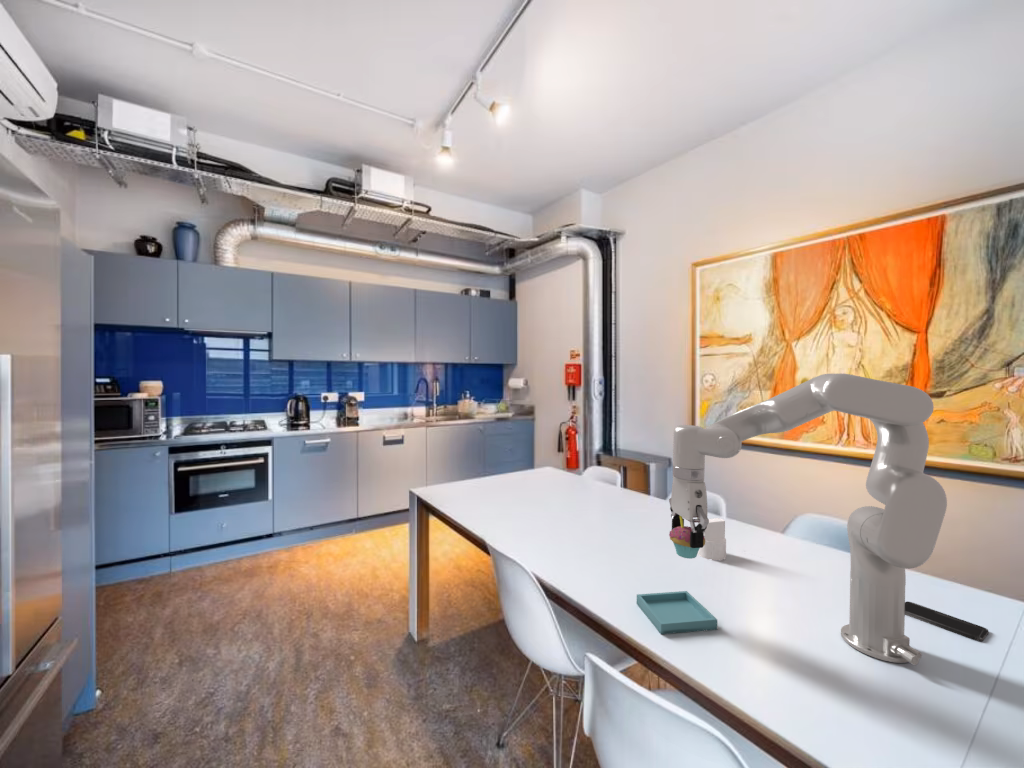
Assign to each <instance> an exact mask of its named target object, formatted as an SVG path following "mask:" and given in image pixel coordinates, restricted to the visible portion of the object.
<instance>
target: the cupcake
mask: <svg viewBox="0 0 1024 768" xmlns="http://www.w3.org/2000/svg"><path fill="white" fill-rule="evenodd" d="M683 519H684V518H683V517H681V516H680V522H681V526H679V527H675V528H673V529H672V528H671V530H669V534H668V536H669V540H670V541H671V542H673V547H674V549H675V552H676V554H677V555H678V556H679V557H681V558H684V559H696V558H697V556H698V551H699V549H700V548H691V547H690V531H692V528H691V526H688V525H686V526H685V523H684V524H683ZM704 537H705V536H704ZM704 537H703V546H704V545H705V538H704Z"/></svg>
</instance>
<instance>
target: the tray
mask: <svg viewBox="0 0 1024 768" xmlns="http://www.w3.org/2000/svg"><path fill="white" fill-rule="evenodd" d="M636 605H637V606H638V607H639V609H640V610H641V611H642V613H643V614H644V615H645V617H646V618H647V619H648V620H649V621H650V622H651V624H652V626H653V627H655V629H656V630H657V632H658V633H659V634H660V635H669V634H670V635H671V634H680V633H681V634H682V633H693V632H702V631H703V632H706V630H707V631H716V630H718V619H717V618H716V617H715V616H714V615H713V614H712V613H711V612H710V611H709V610H707V609H706V607H705V606H703V604H701V603H700V602H699V601H698V600H697V599H696V598H695V596H693V595H692V594H691V593H690V592H689V591H688V590H684V591H683V590H682V591H680V590H679V591H667V592H655V593H640V594H639V593H638V594H636ZM704 630H705V631H704Z"/></svg>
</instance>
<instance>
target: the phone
mask: <svg viewBox="0 0 1024 768" xmlns="http://www.w3.org/2000/svg"><path fill="white" fill-rule="evenodd" d="M905 616H907V617H909V618H912V619H915V620H918V621H920V622H924V623H927V624H929V625H931V626H934V627H937V628H939V629H943V630H945V631H947V632H951V633H953V634H956V635H959V636H961V637H965V638H966V639H970V640H972V641H975V642H981V643H982V642H984V640H985V639H986V637H987V636H988V635H989V629H988V628H987V627H984V626H981V625H978V624H975V623H972V622H969V621H966V620H965V619H961V618H958V617H955V616H952V615H950V614H947V613H945V612H941V611H937V610H935V609H933V608H929V607H927V606H924V605H921V604H917V603H915V602H911V601H905Z"/></svg>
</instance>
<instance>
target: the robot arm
mask: <svg viewBox="0 0 1024 768" xmlns="http://www.w3.org/2000/svg"><path fill="white" fill-rule="evenodd" d="M934 406H935V405H934V402H933V399H932V397H930V394H928V393H927V392H925V391H924V390H922V389H921V388H917V387H915V386H911V385H906V384H901V383H897V382H889V381H886V380H885V381H884V380H879V379H874V378H868V377H864V376H860V375H855V374H849V373H823V374H820V375H817V376H815V377H812V378H810V379H808V380H806V381H804V382H802V383H800V384H797V385H796V386H794V387H792V388H789V389H788V390H786V391H784V392H781V393H779V394H778V395H777V394H776V395H775V396H773V397H770V398H767V399H766V400H764V401H761V402H757V404H753V405H750V406H749V407H747V408H744V409H742V410H739V411H737V412H735V413H732V414H730V415H727V416H725V417H724V418H721V419H720V420H717V421H716V422H713V423H711V424H710V425H708V426H707V427H706V428H703V427H701V426H698V425H693V424H692V425H691V424H683V425H682V424H680V425H677V426H675V427H674V430H673V444H672V445H673V447H672V448H673V449H672V453H673V454H672V457H673V458H672V484H671V485H672V486H671V496H670V498H668V503H669V506H670V508H669V510H670V512H671V513H670V517H671V529H673V528H675V527H679V526H681V522H680V516H681V517H682V518H683V524H684V525H685V520H686V521H688V522H689V524H690V527H691V528H692V531H690V547H691V548H703V537H704V532H705V529H706V528H707V525H708V523H709V519H710V518H708V495H707V487H706V486H707V485H706V482H705V462H706V461H705V459H706V458H705V457H706V456H709V457H713V458H714V457H715V458H719V459H730V458H733V457H735V456H737V455H738V454H739V453H740V452H741V450H742V445H743V444H742V442H744V441H746V440H748V439H751V438H754V437H758V436H761V435H767V434H778V433H779V434H780V433H784V432H788V431H791V430H793V429H795V428H797V427H800V426H802V425H804V424H806V423H808V422H810V421H813V420H815V419H817V418H820V417H822V416H823V415H826V414H829V413H831V412H834V411H835V412H840V413H844V414H847V415H852V416H855V417H860V418H865V419H868V420H870V422H872V425H874V428H875V430H876V435H877V441H876V444H875V445H876V446H875V450H874V454H873V457H872V461H871V465H870V466H869V467H870V468H869V471H868V474H867V477H866V481H865V488H866V492H867V493H868V494H869V495H870V496H871V497H872V498H873V499H874V500H876V501H878V502H879V503H881V504H883V505H884V508H881V507H878V506H872V505H871V506H870V505H869V506H866V505H865V506H861V507H859V508H856V509H855V510H853V511H852V512H851V513H850V514H849V517H848V520H847V525H846V526H847V529H846V530H847V536H848V537H847V538H848V544H849V551H850V554H849V555H850V573H849V579H850V580H849V581H850V582H849V623H848V624H844V625H843V626H841V628H840V635H841V638H842V639H843V640H844V641H845V642H846V643H847V644H848V645H849V646H851V647H852V648H853V649H856V650H857V651H859V652H861V653H863V654H865V655H868V656H869V657H872V658H875V659H877V660H881V661H885V662H889V663H895V664H896V663H897V664H898V663H899V664H903V663H904V664H905V663H910V664H912V666H913V665H914V666H916V665H918V664H919V662H920V659H922V656H923V655H922V653H921V651H918V650H917V649H915V648H913V647H911V645H910V642H911V641H910V637H908V636H907V635H905V627H906V626H905V619H906V618H905V616H906V615H905V602H906V583H907V582H906V580H907V579H906V576H907V575H906V569H916V568H918V567H921V566H923V565H924V564H926V562H927V561H929V559H930V557H931V555H932V554H933V552H934V550H935V546H936V543H937V541H938V538H939V534H940V531H941V528H942V525H943V523H944V520H945V519H944V518H945V516H946V512H947V508H948V507H947V506H948V498H947V494H946V491H945V489H944V487H943V486H942V485H941V483H940V482H939V481H937V479H935V478H934V477H932V476H930V475H929V474H926V473H924V469H925V467H926V462H927V457H928V453H929V448H930V447H929V445H930V444H929V443H930V442H929V441H930V438H929V434H928V431H927V430H928V429H927V428H926V426H925V424H924V422H926V421H927V420H928V419H929V418H931V416H932V415H933V412H934ZM695 523H697V524H695Z"/></svg>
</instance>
